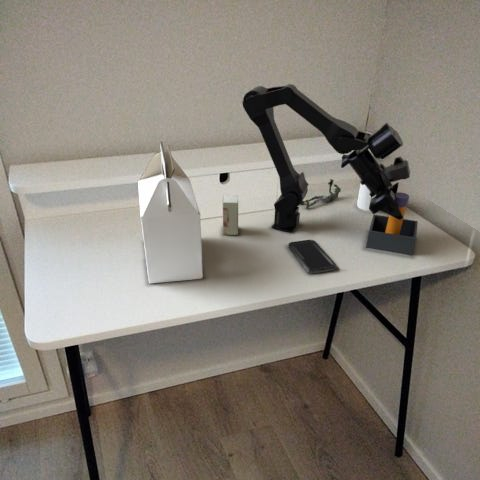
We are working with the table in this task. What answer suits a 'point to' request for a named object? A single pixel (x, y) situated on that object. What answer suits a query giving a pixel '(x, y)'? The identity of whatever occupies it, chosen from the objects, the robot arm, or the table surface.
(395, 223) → the glue stick
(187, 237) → the gable box
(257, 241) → the table surface
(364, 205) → the mug
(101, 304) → the table surface
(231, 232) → the cosmetics bottle
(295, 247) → the phone
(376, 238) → the organizer
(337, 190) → the zombie figurine
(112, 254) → the table surface
